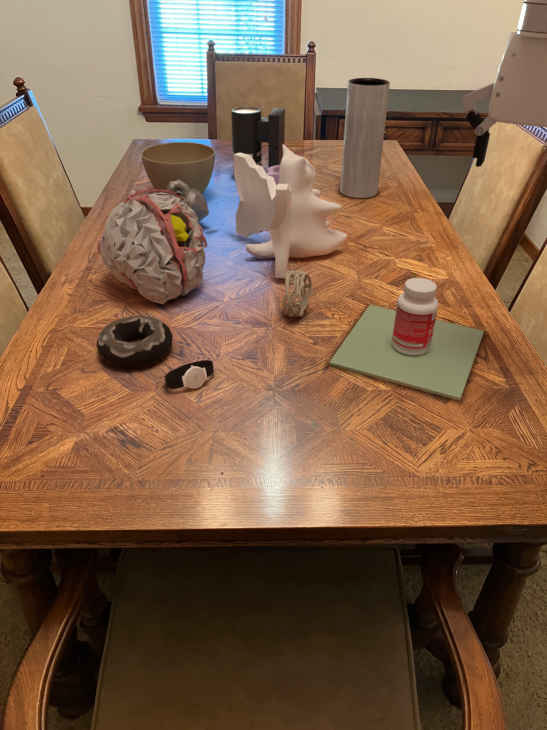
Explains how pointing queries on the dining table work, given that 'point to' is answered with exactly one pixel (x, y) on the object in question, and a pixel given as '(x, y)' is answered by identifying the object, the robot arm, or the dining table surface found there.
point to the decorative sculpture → (154, 245)
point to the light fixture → (258, 133)
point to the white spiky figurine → (284, 210)
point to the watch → (189, 375)
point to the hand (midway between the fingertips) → (516, 168)
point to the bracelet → (302, 304)
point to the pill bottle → (415, 317)
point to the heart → (190, 198)
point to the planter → (363, 136)
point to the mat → (423, 372)
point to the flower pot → (179, 164)
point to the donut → (136, 353)
